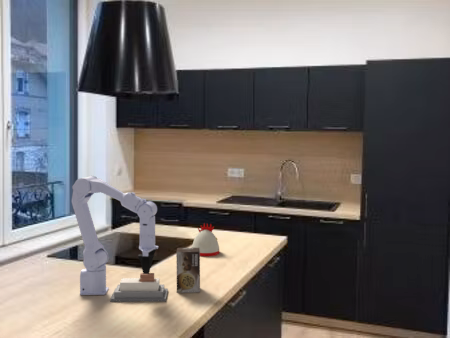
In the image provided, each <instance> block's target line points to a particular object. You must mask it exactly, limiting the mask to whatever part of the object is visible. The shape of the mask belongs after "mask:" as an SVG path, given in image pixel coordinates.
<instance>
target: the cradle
mask: <svg viewBox="0 0 450 338" xmlns="http://www.w3.org/2000/svg"><path fill="white" fill-rule="evenodd" d="M168 291H169V288H165V284H159V291H120V284H117V286H116V288H114V290H113V293H112V294H111V296H110V299H109V301H110V302H111V303H113V302H115V303H116V302H119V303H120V302H121V303H122V302H130V303H131V302H132V303H133V302H135V301H136V302H137V301H149V302H166V301H167V297H168Z"/></svg>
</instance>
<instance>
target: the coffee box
mask: <svg viewBox="0 0 450 338" xmlns="http://www.w3.org/2000/svg"><path fill="white" fill-rule="evenodd" d="M175 252H176V253H175V254H176V293H178V294H179V293H181V294H182V293H201V256H200V248H192V247H177V248H176V251H175Z"/></svg>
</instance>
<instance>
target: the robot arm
mask: <svg viewBox="0 0 450 338" xmlns="http://www.w3.org/2000/svg"><path fill="white" fill-rule="evenodd" d="M71 188H72V194H71V195H72V196H71V205H72V208H73V212H74V215H75V218H76V222H77V225H78V229H79V232H80V235H81V238H82V242H83V244H84V249H83V251H82V255H83V266H84V268H82V269H81V270H80V275H79V295H80V296H89V295H90V296H97V295H98V296H103V295H104V296H105V295H106V294H107V293H108V291H109V287H108V286H107V266H106V264H107V263H108V261H109V253H108V251H107V250H106V249H105V247H104V245H103V244H102V243H101V242H100V241H99V238H98V234H97V231H96V228H95V224H94V221H93V217H92V214H91V211H90V207H89V204H88V202H89V200H90V199H91V197H92V196H93V195H95V194H98V193H99V194H100V193H101V194H102V193H103V194H104V195H106V196H108V197H111V198H112V199H115V200H117V201H119V202H120V204H121V206H122V207H124V208H125V209H127V210H129V211H131V212H133V213H135V214H137V216H138V217H139V245H138V249H139V250H140V252H141V253H139V254H137V257H138V260H139V262H140V266H141V270H142V273H143V274H149V273H151V268H152V266H153V260H154V257H155V253H156V251H157V250H158V249H159V245H156V214H157V212H158V206H157V204H156V203H155V202H154V201H152V200H148V201H147V199H146V198H141V197H140V196H137V195H136V192H133V191H131V192H130V191H128V192H123V191H121V190H120V189H118V188H116V187H115V186H113V185H112V184H109V183H108V182H106V181H105V180H103V179H102V178H99V177H97V176H94V175H89V176H87V177H79V178H77V179H76V180H75V181H74V184H73V185H72V186H71Z"/></svg>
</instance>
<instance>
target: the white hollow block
mask: <svg viewBox="0 0 450 338" xmlns="http://www.w3.org/2000/svg"><path fill="white" fill-rule="evenodd" d="M119 285H120V291H159V285H160V277H156V278H155V277H154V282H140V277H138V278H137V277H136V278H135V277H133V278H132V277H130V278H129V277H127V278H126V277H122V278H121V279H120V282H119Z"/></svg>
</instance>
